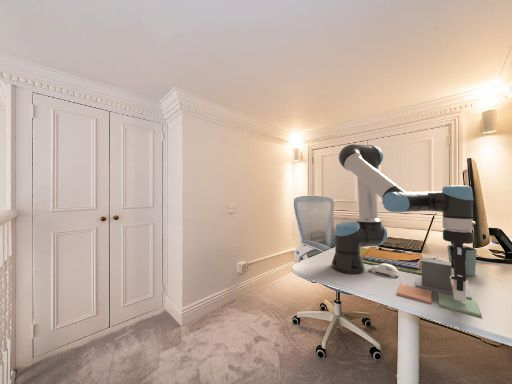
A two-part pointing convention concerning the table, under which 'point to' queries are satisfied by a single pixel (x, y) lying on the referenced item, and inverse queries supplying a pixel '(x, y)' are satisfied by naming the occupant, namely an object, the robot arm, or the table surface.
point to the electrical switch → (435, 258)
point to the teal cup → (468, 260)
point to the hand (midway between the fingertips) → (457, 292)
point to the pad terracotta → (415, 293)
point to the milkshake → (453, 290)
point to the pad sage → (459, 305)
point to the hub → (437, 277)
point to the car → (385, 269)
